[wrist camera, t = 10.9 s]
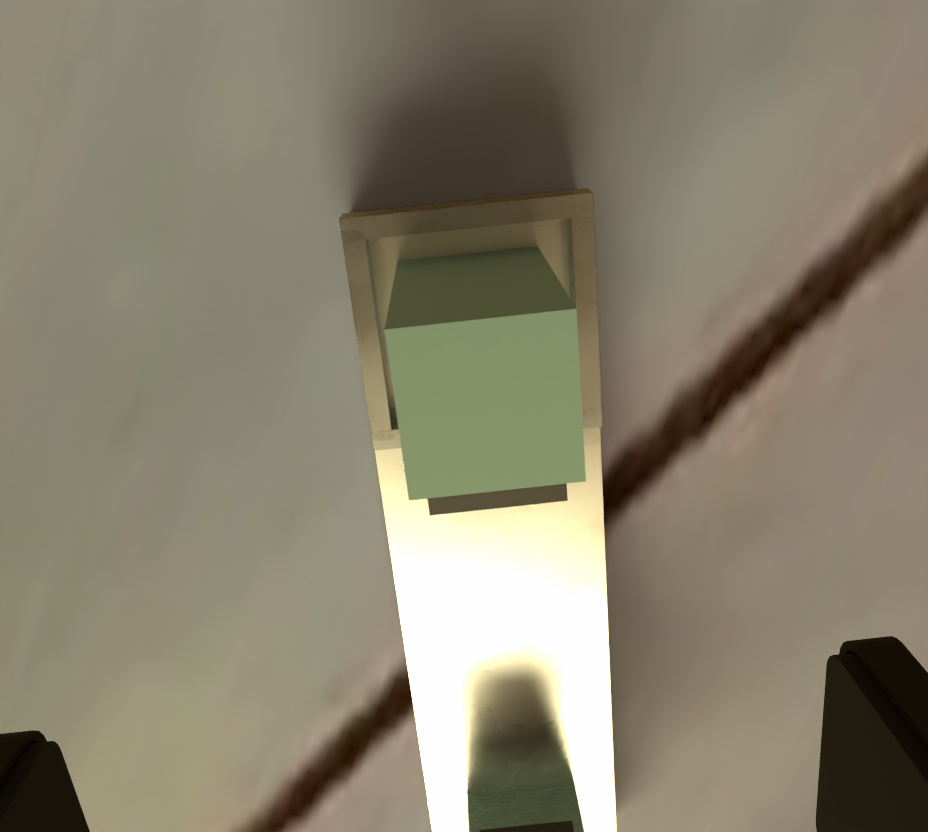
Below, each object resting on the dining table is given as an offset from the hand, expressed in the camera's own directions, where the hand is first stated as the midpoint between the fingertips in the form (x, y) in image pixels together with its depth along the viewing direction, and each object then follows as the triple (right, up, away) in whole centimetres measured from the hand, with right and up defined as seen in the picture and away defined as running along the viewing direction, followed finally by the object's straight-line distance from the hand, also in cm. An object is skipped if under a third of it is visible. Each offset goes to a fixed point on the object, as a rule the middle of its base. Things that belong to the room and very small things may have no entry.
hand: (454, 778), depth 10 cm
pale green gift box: (0, +7, +14) cm, 16 cm away
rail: (+1, -1, +21) cm, 21 cm away
